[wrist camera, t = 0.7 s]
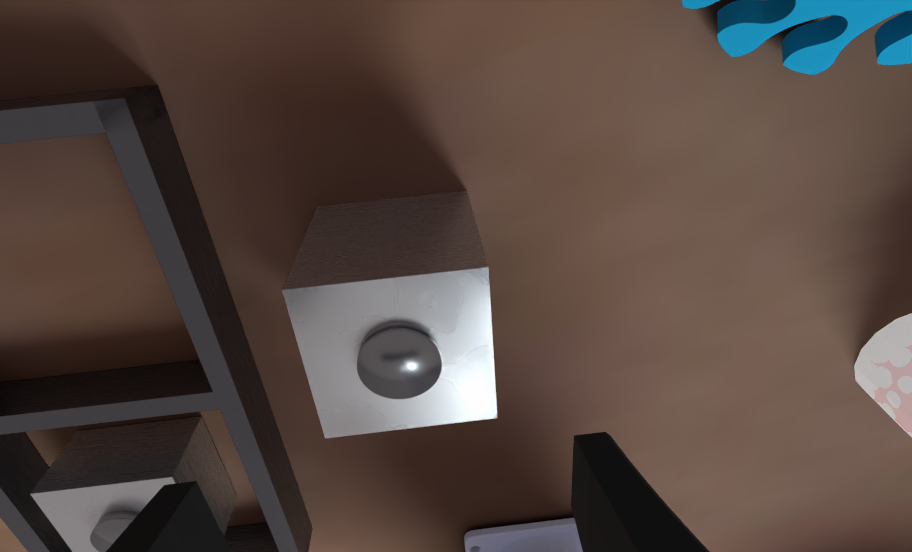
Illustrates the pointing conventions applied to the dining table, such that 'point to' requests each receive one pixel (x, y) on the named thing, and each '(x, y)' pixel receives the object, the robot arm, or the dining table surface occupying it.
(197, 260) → the grey flat rectangular frame
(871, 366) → the beverage cup
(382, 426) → the grey square block
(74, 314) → the dining table surface
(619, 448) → the robot arm
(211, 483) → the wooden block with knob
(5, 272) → the dining table surface
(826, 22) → the gear
